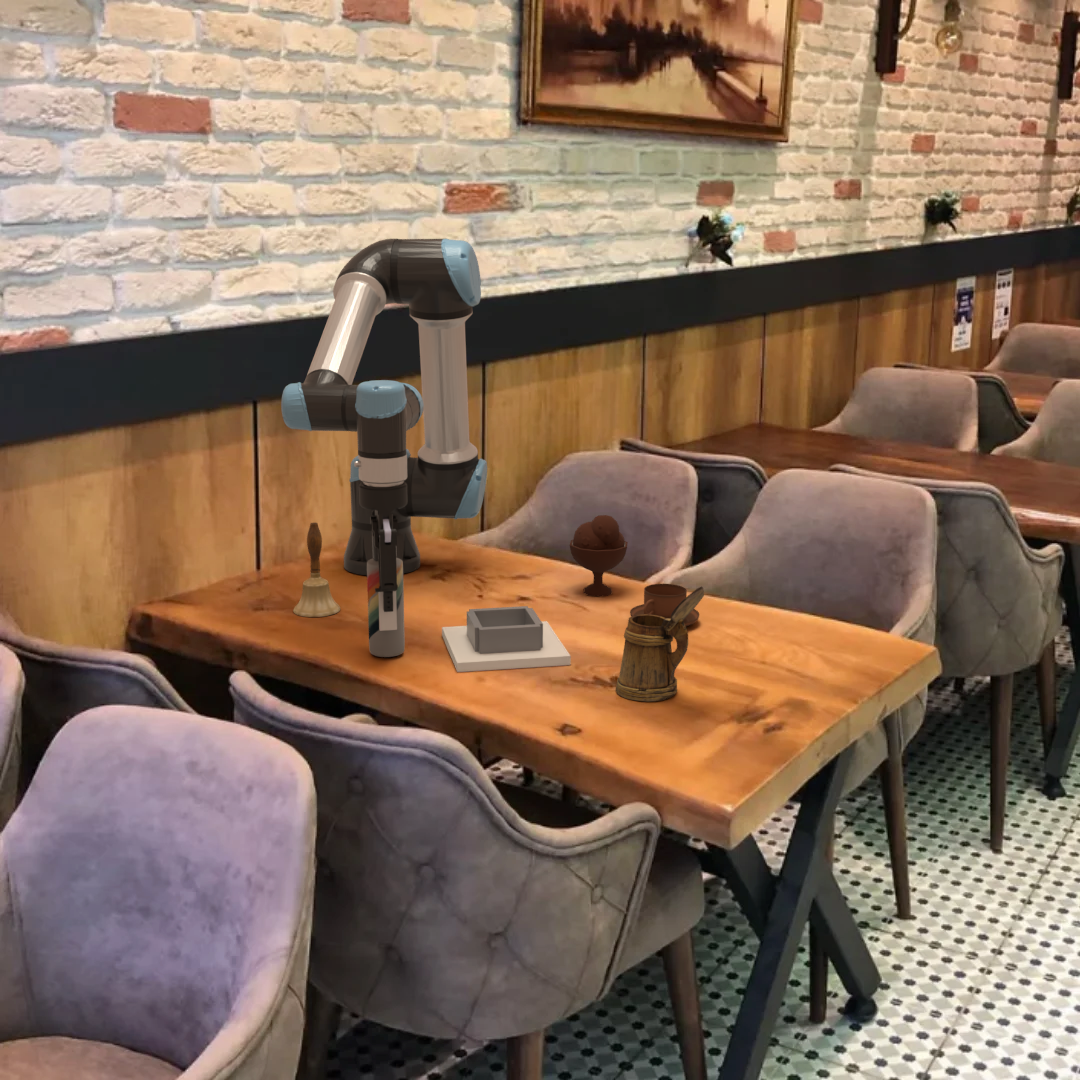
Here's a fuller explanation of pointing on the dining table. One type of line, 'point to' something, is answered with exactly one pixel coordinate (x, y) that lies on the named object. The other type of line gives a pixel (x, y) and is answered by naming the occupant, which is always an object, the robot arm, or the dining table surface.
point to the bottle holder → (504, 641)
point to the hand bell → (315, 583)
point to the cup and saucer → (664, 602)
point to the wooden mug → (654, 653)
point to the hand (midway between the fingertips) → (386, 622)
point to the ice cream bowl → (598, 550)
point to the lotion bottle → (379, 641)
